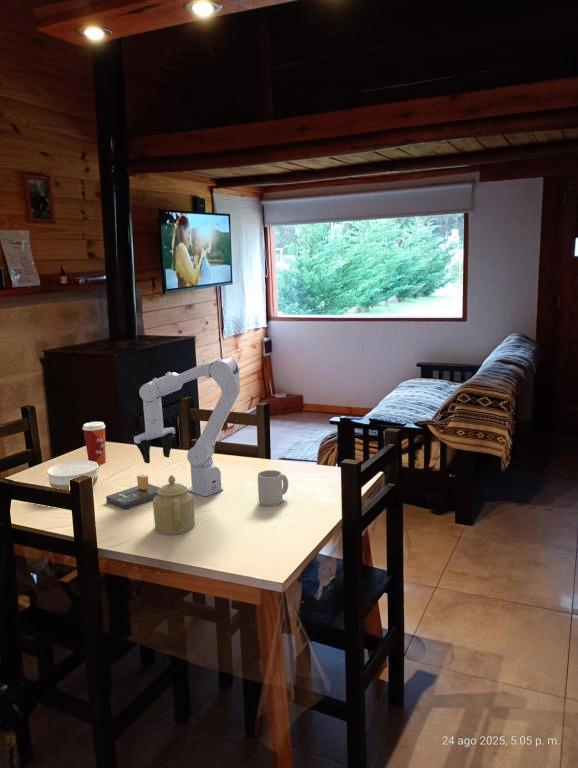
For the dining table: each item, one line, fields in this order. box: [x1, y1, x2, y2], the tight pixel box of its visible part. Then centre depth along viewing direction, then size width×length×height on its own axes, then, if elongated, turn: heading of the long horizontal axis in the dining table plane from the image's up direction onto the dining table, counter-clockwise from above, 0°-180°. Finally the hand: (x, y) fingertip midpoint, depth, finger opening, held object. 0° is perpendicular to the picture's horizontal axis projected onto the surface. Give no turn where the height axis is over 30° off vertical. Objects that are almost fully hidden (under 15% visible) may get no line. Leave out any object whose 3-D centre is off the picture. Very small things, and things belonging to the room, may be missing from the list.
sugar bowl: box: [152, 474, 196, 535], centre depth 175 cm, size 15×11×15 cm
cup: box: [257, 469, 289, 507], centre depth 193 cm, size 7×10×9 cm
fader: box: [136, 474, 150, 490], centre depth 202 cm, size 3×2×4 cm, turn 48°
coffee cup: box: [81, 421, 107, 466], centre depth 237 cm, size 8×8×15 cm
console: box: [105, 483, 161, 511], centre depth 199 cm, size 10×15×2 cm, turn 138°
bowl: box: [46, 459, 99, 491], centre depth 208 cm, size 16×16×8 cm
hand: (156, 459), depth 206 cm, fingers open, 7 cm apart
